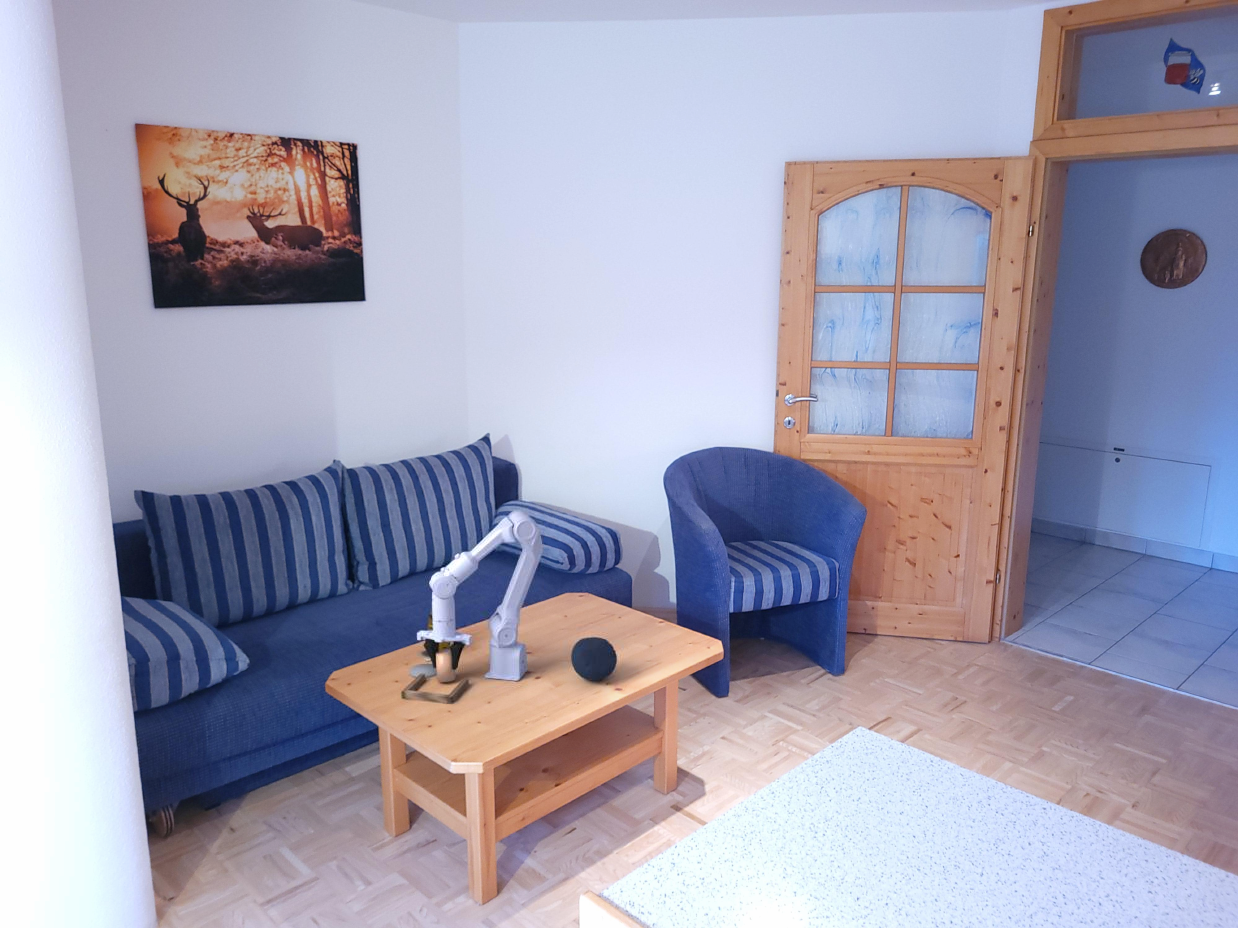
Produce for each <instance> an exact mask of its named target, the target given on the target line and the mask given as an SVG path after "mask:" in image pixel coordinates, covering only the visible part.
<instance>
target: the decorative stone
mask: <svg viewBox="0 0 1238 928" xmlns="http://www.w3.org/2000/svg"><path fill="white" fill-rule="evenodd" d="M570 658H571V659H570V661H571V665H572V667H573V670H574V671H575V672H576V673H577V675H578V676H579V677H581V678H582V679H583V680H586V681H591V682H598V681H601V680H604V679H605V678H606V677H609V676H611V674H613V673H614V671H615V669H616V666H617V663H618V656H617V652H616V650H615V648H614V646H613V644H612V643H610V641H608V640H607V639H605V638H602V637H596V636H591V637H584V638H581V639H579V640H577V641H576V642H575V644H574V646H573V647H572V650H571V656H570Z"/></svg>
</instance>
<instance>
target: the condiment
mask: <svg viewBox="0 0 1238 928" xmlns="http://www.w3.org/2000/svg"><path fill="white" fill-rule="evenodd" d="M432 630H433V616H432V611H431V612H430V613H429V614H428V623H427V631H432ZM450 646H451V642H444V641H443V642H439V651H440V650H446V649H448V650H450ZM417 654H418V655H420V656H421V658H422V659H424V660H425V661H426V662H430V661H431V659H430V656H429V654H428V652H427V651H426V649H425V650H420V651H417Z"/></svg>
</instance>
